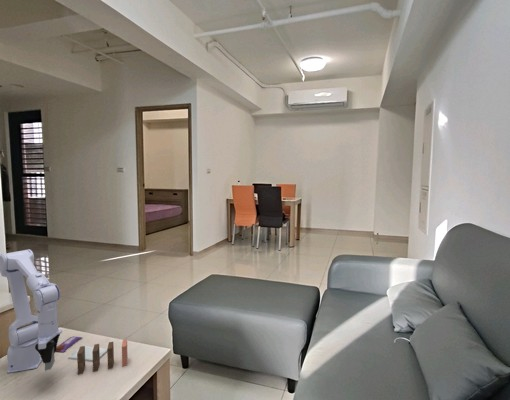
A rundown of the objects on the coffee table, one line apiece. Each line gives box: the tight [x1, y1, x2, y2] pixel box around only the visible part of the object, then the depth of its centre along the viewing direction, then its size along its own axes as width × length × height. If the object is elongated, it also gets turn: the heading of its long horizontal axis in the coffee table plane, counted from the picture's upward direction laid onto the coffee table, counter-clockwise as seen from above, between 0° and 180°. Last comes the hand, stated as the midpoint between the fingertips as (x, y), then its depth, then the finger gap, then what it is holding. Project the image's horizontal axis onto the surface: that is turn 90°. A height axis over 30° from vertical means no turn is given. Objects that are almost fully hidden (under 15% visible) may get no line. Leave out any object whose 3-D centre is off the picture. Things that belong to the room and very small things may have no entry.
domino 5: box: [121, 339, 128, 368], centre depth 120 cm, size 2×5×8 cm, turn 19°
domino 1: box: [44, 340, 56, 371], centre depth 107 cm, size 2×5×8 cm, turn 19°
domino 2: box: [76, 345, 86, 375], centre depth 115 cm, size 2×5×8 cm, turn 19°
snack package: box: [56, 336, 83, 353], centre depth 132 cm, size 12×2×5 cm
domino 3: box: [92, 343, 101, 373], centre depth 116 cm, size 2×5×8 cm, turn 19°
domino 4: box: [106, 341, 115, 370], centre depth 118 cm, size 2×5×8 cm, turn 19°
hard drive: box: [67, 345, 108, 363], centre depth 125 cm, size 2×8×12 cm
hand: (49, 357), depth 107 cm, fingers closed on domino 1, 5 cm apart
